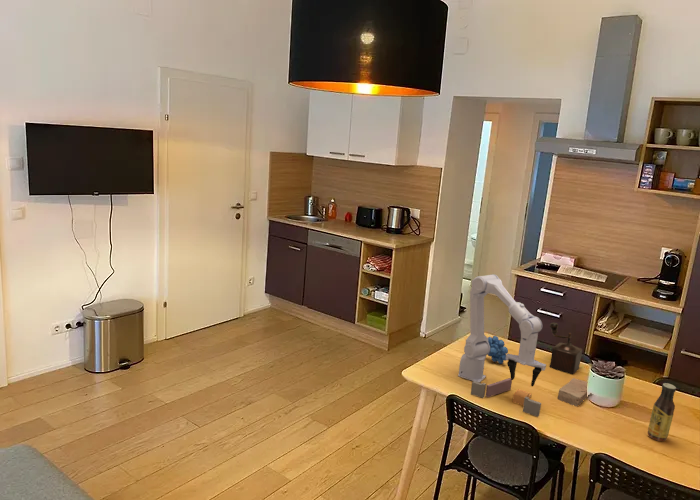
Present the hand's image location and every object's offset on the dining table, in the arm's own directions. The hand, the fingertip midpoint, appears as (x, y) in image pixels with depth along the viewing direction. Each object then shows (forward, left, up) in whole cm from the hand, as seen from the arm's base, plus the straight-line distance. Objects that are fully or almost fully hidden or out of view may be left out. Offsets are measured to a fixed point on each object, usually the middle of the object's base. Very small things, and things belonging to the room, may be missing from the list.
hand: (522, 382), depth 207 cm
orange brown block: (0, +3, -8) cm, 9 cm away
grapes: (-21, +29, -8) cm, 37 cm away
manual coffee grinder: (+3, +47, -8) cm, 48 cm away
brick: (+16, +20, -9) cm, 27 cm away
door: (-9, +1, -8) cm, 12 cm away
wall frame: (-4, -6, -8) cm, 11 cm away
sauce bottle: (+46, +7, -8) cm, 47 cm away
